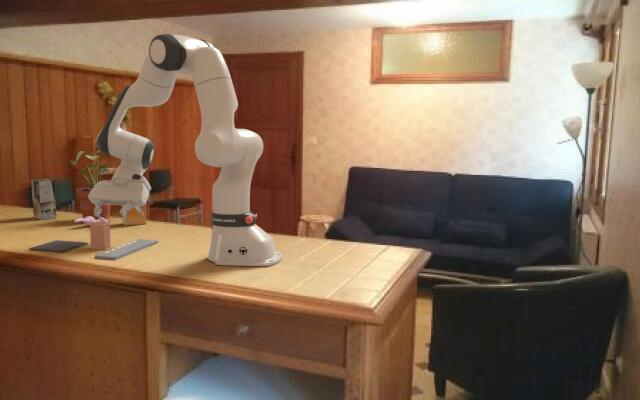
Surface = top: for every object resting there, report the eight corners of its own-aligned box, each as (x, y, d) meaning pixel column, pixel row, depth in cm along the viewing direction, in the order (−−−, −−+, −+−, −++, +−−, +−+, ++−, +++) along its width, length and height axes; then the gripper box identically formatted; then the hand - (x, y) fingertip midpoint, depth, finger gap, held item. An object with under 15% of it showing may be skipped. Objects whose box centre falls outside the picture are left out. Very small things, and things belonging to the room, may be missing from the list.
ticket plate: (158, 242, 174) (158, 240, 174) (115, 259, 151) (115, 256, 151) (139, 241, 176) (139, 238, 176) (94, 258, 153) (94, 255, 153)
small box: (126, 225, 202) (125, 193, 201) (122, 223, 208) (121, 191, 206) (147, 224, 207) (146, 192, 205) (142, 221, 212) (141, 190, 210)
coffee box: (57, 218, 215) (55, 180, 213) (40, 220, 211) (38, 181, 208) (49, 215, 222) (47, 178, 219) (33, 217, 217) (30, 179, 215)
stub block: (110, 247, 167) (109, 223, 166) (104, 249, 164) (103, 224, 163) (96, 246, 168) (95, 222, 167) (91, 248, 165) (89, 223, 164)
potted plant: (93, 215, 223) (90, 134, 218) (122, 218, 218) (119, 135, 213) (65, 221, 209) (60, 135, 204) (94, 224, 204) (91, 135, 199)
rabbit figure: (101, 225, 209) (69, 225, 196) (103, 211, 209) (71, 210, 196) (112, 227, 206) (80, 227, 193) (114, 212, 206) (82, 211, 193)
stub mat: (87, 244, 170) (87, 242, 170) (62, 252, 159) (62, 250, 158) (56, 241, 173) (56, 240, 173) (29, 250, 161) (29, 248, 161)
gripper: (94, 174, 177) (76, 206, 169) (148, 176, 173) (132, 209, 165) (103, 185, 182) (86, 217, 174) (155, 188, 178) (140, 220, 170)
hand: (109, 213), depth 169 cm, fingers open, 8 cm apart
